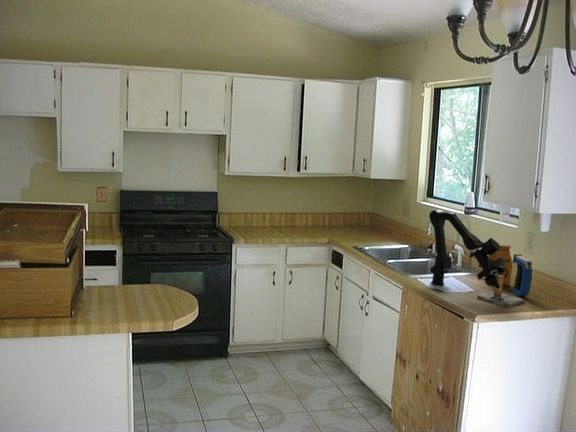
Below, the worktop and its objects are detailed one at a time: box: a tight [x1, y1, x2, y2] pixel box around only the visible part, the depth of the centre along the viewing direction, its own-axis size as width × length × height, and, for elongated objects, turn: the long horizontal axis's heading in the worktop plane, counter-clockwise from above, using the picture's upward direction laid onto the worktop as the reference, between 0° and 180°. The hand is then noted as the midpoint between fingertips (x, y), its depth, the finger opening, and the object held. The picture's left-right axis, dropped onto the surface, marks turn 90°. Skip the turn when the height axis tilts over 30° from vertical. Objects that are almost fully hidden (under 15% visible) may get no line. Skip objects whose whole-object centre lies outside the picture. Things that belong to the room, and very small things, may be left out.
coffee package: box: [484, 244, 513, 286], centre depth 322 cm, size 10×12×22 cm
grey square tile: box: [476, 291, 525, 308], centre depth 290 cm, size 16×16×2 cm
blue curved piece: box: [509, 253, 533, 297], centre depth 303 cm, size 5×16×20 cm, turn 2°
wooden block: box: [493, 275, 504, 301], centre depth 286 cm, size 4×4×13 cm
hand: (501, 287), depth 285 cm, fingers open, 4 cm apart
